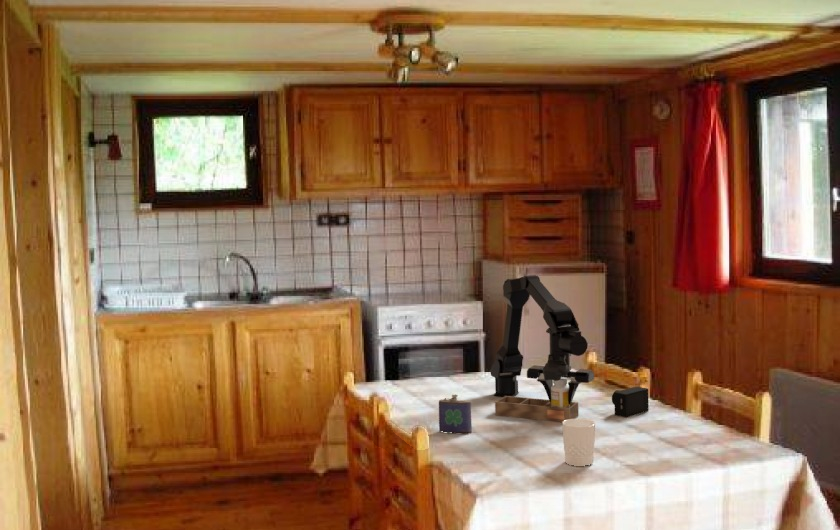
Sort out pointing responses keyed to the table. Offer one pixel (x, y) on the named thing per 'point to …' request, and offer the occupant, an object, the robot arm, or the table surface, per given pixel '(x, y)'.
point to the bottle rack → (534, 409)
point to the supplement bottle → (560, 394)
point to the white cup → (579, 441)
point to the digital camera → (630, 401)
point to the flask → (455, 415)
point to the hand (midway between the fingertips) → (560, 403)
